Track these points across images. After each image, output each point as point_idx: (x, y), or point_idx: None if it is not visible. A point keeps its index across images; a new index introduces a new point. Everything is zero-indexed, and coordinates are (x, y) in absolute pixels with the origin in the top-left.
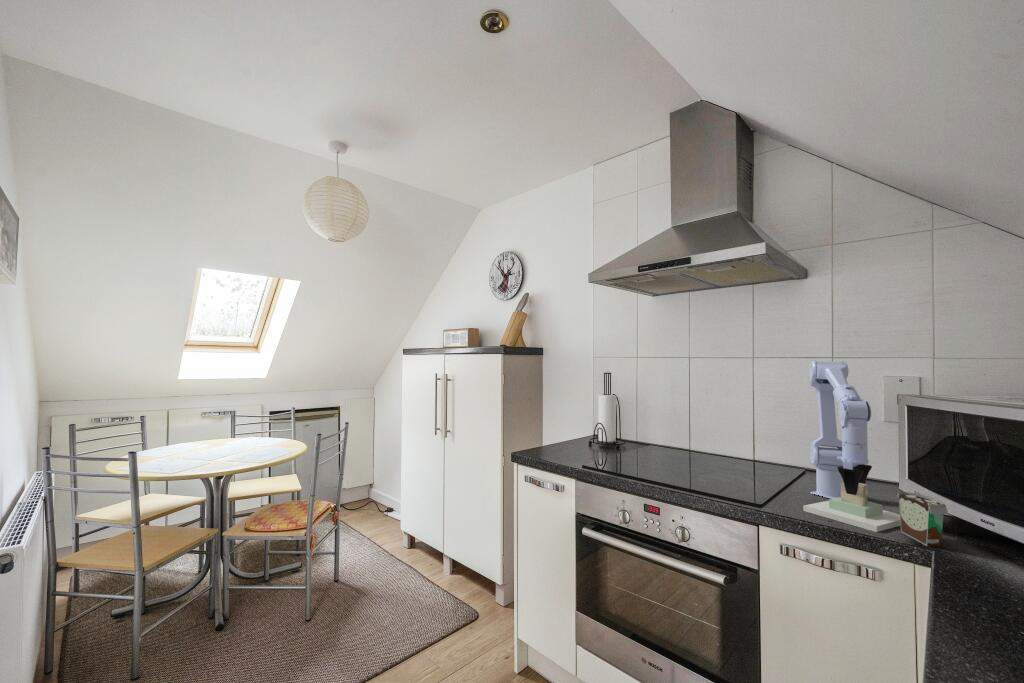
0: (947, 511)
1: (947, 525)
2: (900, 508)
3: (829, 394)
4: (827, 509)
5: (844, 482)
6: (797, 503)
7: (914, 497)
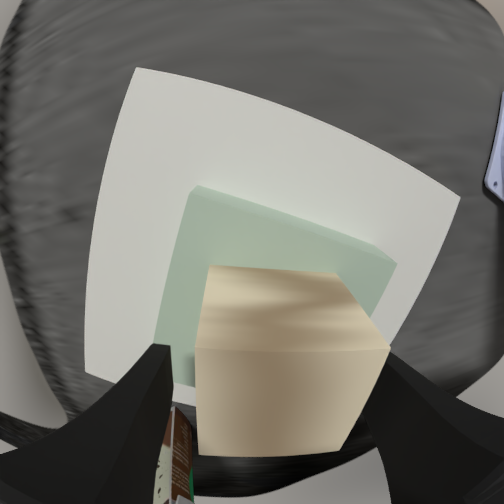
0: None
1: (363, 444)
2: (170, 470)
3: None
4: (158, 185)
5: (105, 398)
6: (293, 21)
7: None
